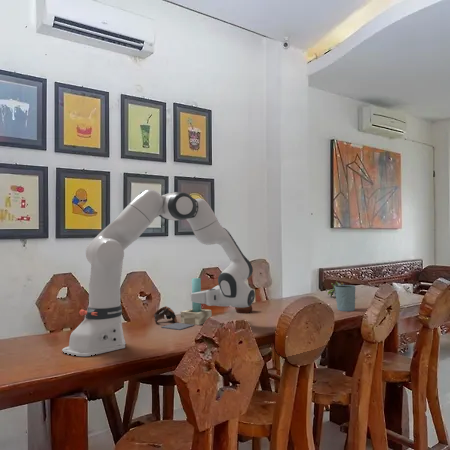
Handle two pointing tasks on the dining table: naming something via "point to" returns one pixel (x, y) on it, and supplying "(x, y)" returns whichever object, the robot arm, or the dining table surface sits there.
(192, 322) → the socket block
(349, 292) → the blue-grey planter
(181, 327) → the mat
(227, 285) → the robot arm
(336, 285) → the passion flower
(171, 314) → the brown hollow arch
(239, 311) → the ceramic pot
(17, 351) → the dining table surface
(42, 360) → the dining table surface
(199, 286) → the peg
